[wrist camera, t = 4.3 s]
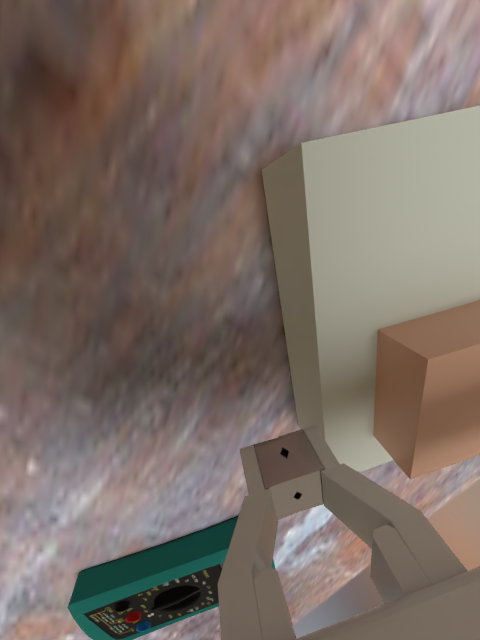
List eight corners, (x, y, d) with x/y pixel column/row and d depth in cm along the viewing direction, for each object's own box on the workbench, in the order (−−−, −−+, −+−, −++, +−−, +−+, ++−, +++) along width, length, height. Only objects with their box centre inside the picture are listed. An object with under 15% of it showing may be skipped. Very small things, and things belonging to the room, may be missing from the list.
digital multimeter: (71, 566, 18) (51, 625, 16) (257, 502, 20) (267, 546, 17) (113, 603, 22) (102, 658, 19) (271, 546, 23) (282, 589, 20)
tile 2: (377, 329, 9) (428, 359, 7) (510, 291, 10) (591, 309, 8) (373, 435, 12) (410, 479, 10) (480, 400, 12) (535, 435, 10)
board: (261, 169, 10) (301, 142, 6) (564, 104, 11) (738, 51, 8) (298, 423, 16) (328, 482, 13) (490, 362, 18) (568, 400, 14)
